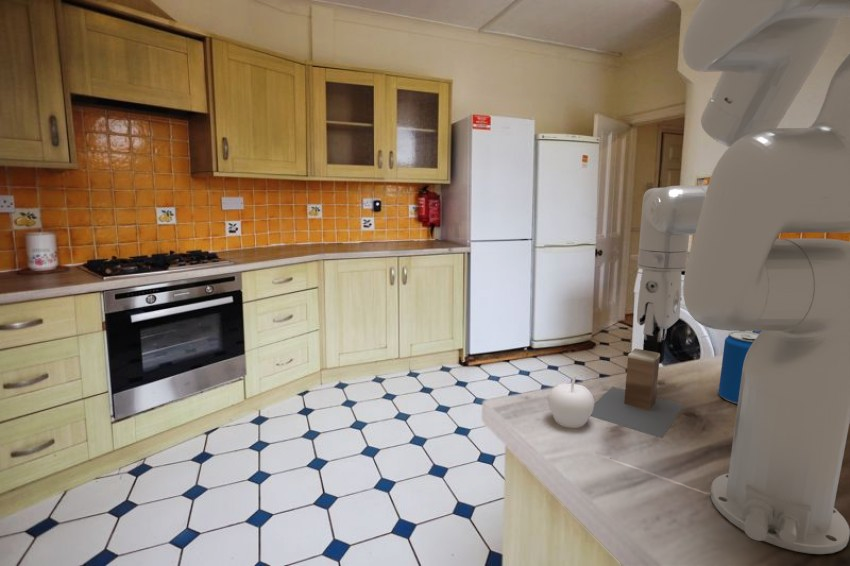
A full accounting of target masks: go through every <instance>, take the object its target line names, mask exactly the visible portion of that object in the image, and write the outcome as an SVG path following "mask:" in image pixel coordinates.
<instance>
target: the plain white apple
mask: <svg viewBox="0 0 850 566" xmlns="http://www.w3.org/2000/svg"><path fill="white" fill-rule="evenodd" d="M577 378H578V376H577V375H573V376H572V380H571V382H570V383H567V382H566V383H565V382H561V383H559V384H557V385H556V386H554V387H553V388H551V390H550V392H549V394H548V396H547V403H548V407H549V410H550V412H551V414H552V416H553V419H554V420H555V423H557V424H558V425H560V426H562V427H564V428H569V429H579V428H582V427H584V426H585V424H586V423H587V421H588V420H589V419H590V417H591V416H590V415H591V414H592V412H593V409H594V403H595V399H594V396H593V394H592V393H591V392H590V390H589V389H588V388H587V387H585V386H584V385H581V384H577V383H576V379H577Z"/></svg>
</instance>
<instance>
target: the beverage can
mask: <svg viewBox="0 0 850 566" xmlns="http://www.w3.org/2000/svg"><path fill="white" fill-rule="evenodd" d="M759 334H760V333H757V332H753V331H730V332H729V333H728V336H727V337H725V339H724V345H723V352H722V361H721V370H720V376H719V384H718V391H717V393H718V395H719V396H720V397H721V398H723V399H724V400H726V401H728V402H730V403H732V404H736V405H738V399H739V391H740V384H741V376H742V370H743V364H744V360H745V357H746V354H747V352H748V350H749V348H750V346H751V345H752V343H753V342H754V340H755V339H756V338H757V336H758V335H759Z"/></svg>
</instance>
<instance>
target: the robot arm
mask: <svg viewBox="0 0 850 566" xmlns="http://www.w3.org/2000/svg"><path fill="white" fill-rule="evenodd" d="M697 5H698V6H697V7H696V8H695V10H694V12H693V14H692V16H691V18H690V21H689V22H688V25H687V28H686V30H685V33H684V39H683V44H682V45H683V46H682V54H683V60H684V62H685V64H686V65H687V66H688V68H689V69H691V70H692V71H695V72H703V73H705V72H706V73H709V72H721V73H720V76H719V79H718V80H717V83H716V85H715V87H714V89H713V91H712V94H711V95H710V98H709V100H708V102H707V105H706V106H705V108H704V110H703V111H702V115H701V117H700V123H701V128H702V129H703V131H704V132H705V133H706V134H707V136H709V137H710V138H711V139H712V140H715V141H716V142H717V143H719V144H721V145H723V146H725V147H727V149H726V150H725V151H724V152H723V154H722V155H721V157H720V158H719V160H718V161H717V163H716V164H715V167H714V169H713V171H712V174H711V175H710V178H709V181H708V184H705V185H704V184H696V185H670V186H665V187H653V188H649V189H647V190H646V191H645V192H644V194H643V196H642V204H641V205H642V207H641V216H640V229H639V244H638V254H637V255H638V257H637V266H636V267H637V269H640V270H641V271H642V272H641V276H640V284H639V291H638V301H637V311H636V313H637V314H636V322H637V324H639V326H643V325H644V326H643V331H642V332H643V344H642V350H646V351H651V352H656V353H660V360H659V365H660V364H662V362H663V361H664V360H665V352H666V350H665V349H666V340H665V339H666V336H667V331H668V330H667V329H669V328H670V327H672V326H673V325H674V324H675V323H676V322H677V321H678V320H679V319H680V316H681V315H680V314H681V301H682V300H681V298H682V295H683V300H684V304H685V305H684V306H685V308H686V310H687V312H688V314H689V315H690V316H691V318H693V319H692V320H694V321H696V322H697V323H698V324H700V325H702V326H704V327H706V328H709V329H712V330H719V331H730V332H732V331H745V332H759V333H758V334H759V335H758V336H757V338H756V339H755V340H754V342H753V343H752V345H751V346H750V348H749V350H748V352H747V354H746V357H745V360H744V364H743V370H742V376H741V384H740V391H739V399H738V404H737V408H736V414H735V416H736V417H735V423H734V430H733V437H732V446H731V452H730V460H729V468H728V473H724V474H720V475H719V476H717V477H715V478H714V479H713V481H712V483H711V486H710V493H709V495H710V498H711V499H710V500H711V501H712V503H713V505H714V507H715V508H716V509H717V510H718V512H720V514H721V515H722V516H723V517H724V518H726V519H727V520H728V521H729V522H730V523H731V524H733V525H734V526H736V527H737V528H739V529H740V530H741V531H743V532H744V533H745V535H746V536H748V537H749V538H751V539H752V540H755V541H760V542H761V541H763V542H766V543H768V544H771V545H773V546H776V547H779V548H780V549H781V548H783V549H785V550H788V551H793V552H798V553H803V554H814V555H825V554H834V553H836V552H840V551H842V550H843V549H844V548H846V547H847V545H848V543H849V541H850V526H849V523H848V522H847V521H846V518H845V517H844V516H843V515H842V514H841V513H840V511H838V510H837V508H836V507H835V502H836V498H837V497H836V496H837V491H838V485H839V480H840V477H841V476H840V475H841V471H842V464H843V459H844V454H845V448H846V443H847V437H848V433H849V427H850V241H848V240H847V241H846V240H842V239H837V238H834V239H833V238H815V237H814V238H811V237H810V238H809V237H808V238H803V237H802V238H778V237H779V236H780V234H795V233H796V234H799V233H801V234H802V233H803V234H808V233H809V234H811V233H813V234H815V233H818V234H819V233H826V234H827V233H850V53H849V54H848V55H847V57H845V59H843V61H842V62H841V64H840V65H839V66H838V68H837V69H836V71H835V72H834V74H833V76H832V77H831V80H830V82H829V85H828V88H827V90H826V94H825V98H824V100H823V103H822V105H821V108H820V110H819V112H818V115H817V117H816V118H815V120H814V121H813V123H812V124H811V125H810V126H809V127H781V128H778V126H779V125H780V124H781V121H783V118H784V117H785V115H786V114H787V112H788V110H789V109H790V107H791V105H792V104H793V102H794V101H795V99H796V97H798V95H799V93H800V91H801V90H802V87H804V85H805V83H806V81H807V80H808V78H809V77H810V75H811V73H812V71H813V70H814V69H815V67H816V65H817V64H818V62H819V60H820V59H821V57H822V55H823V54H824V52H825V50H826V49H827V48H828V45H829V44H830V42H831V41H832V40H833V37H834V35H835V34H836V32H837V30H838V27H839V26H840V23H841V20H842V19H845V18H846V19H847V18H850V0H700V2H699V3H698V4H697ZM690 236H693V239H692V242H691V247H690V250H689V241H690ZM688 253H689V255H688ZM682 272H684V276H683V287H682ZM682 291H683V293H682Z"/></svg>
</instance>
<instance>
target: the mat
mask: <svg viewBox="0 0 850 566" xmlns="http://www.w3.org/2000/svg"><path fill="white" fill-rule="evenodd" d="M624 400H625V388H619V387H615V386H611V387H610V389H608V390H607V391H606V392H605V393H604V394H603V395H601V397H600V398H599V399H597V401H595V402H594V409H593V412H592V414H591V415H590V417H592V418H596V419H598V420H601V421H605V422H607V423H611V424H615V425H618V426H621V427H623V428H624V427H625V428H627V429H631V430H634V431H638V432H639V433H644V434H647V435H649V436H653V437H657V438H660V439H663V438H664V436H665V435H666V433H667V432H668V430H669V429H670V428H671V425H672V424H673V422H674V421H675V420H676V418H677V417H678V415H679V413H680V412H681V411H682V409H683V407H684V405H685V404H682V403H677V402H674V401H670V400H666V399H662V398H658V397H656V402H655V404H654V405H653V406H652V407H651V409H650V410H649V411H648V410H645V409H641V408H638V407H634V406H630V405H627V404H624Z"/></svg>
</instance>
